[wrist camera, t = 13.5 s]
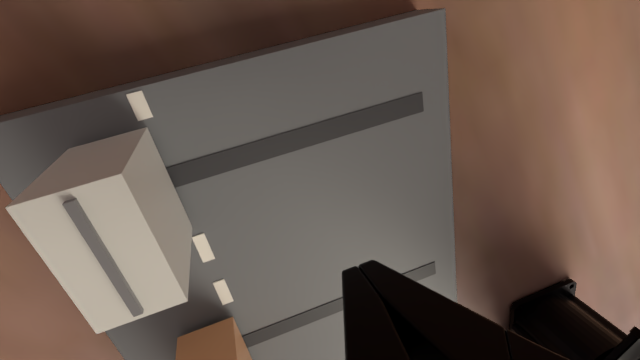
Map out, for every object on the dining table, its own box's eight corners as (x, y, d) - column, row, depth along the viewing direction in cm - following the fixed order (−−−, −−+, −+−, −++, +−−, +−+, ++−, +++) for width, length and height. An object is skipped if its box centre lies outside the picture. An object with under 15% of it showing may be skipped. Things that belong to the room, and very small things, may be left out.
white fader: (147, 126, 14) (120, 176, 10) (192, 227, 17) (187, 305, 12) (68, 148, 14) (1, 211, 9) (126, 248, 16) (95, 338, 12)
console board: (416, 9, 19) (446, 8, 16) (437, 289, 28) (458, 313, 25) (-2, 115, 15) (-37, 132, 13) (178, 394, 24) (175, 432, 22)
